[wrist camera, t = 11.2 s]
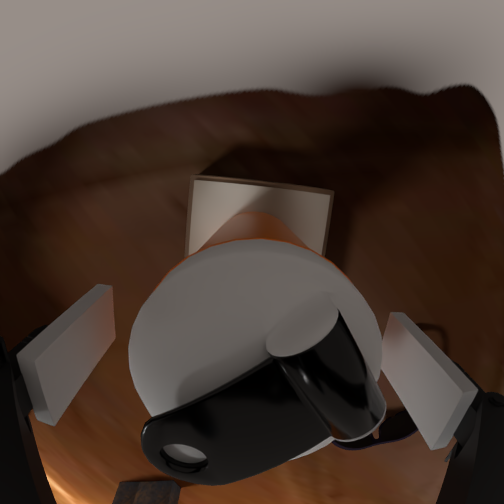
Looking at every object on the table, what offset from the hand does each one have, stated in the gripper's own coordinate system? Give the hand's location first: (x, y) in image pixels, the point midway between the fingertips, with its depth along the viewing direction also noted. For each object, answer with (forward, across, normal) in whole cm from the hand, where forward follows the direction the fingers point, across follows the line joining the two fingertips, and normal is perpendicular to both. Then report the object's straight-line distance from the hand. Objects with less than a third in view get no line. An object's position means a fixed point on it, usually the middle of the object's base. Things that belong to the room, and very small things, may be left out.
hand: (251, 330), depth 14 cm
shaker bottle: (+13, 0, 0) cm, 14 cm away
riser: (+18, 0, 0) cm, 18 cm away
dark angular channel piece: (+19, -13, -44) cm, 49 cm away
